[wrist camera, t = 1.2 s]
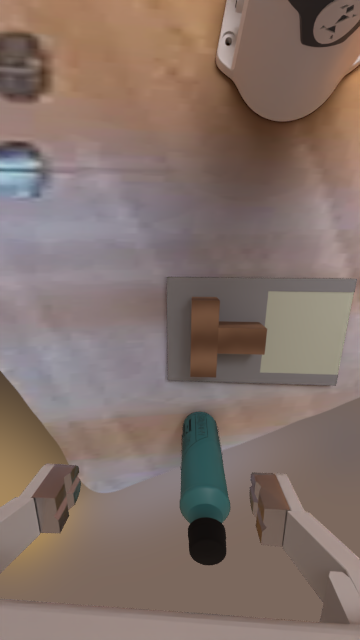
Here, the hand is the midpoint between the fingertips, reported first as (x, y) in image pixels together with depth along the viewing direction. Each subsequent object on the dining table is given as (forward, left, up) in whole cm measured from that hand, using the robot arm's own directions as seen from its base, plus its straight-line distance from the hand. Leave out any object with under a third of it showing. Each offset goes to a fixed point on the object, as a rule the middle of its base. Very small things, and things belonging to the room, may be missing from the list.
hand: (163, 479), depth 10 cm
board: (+1, +12, -28) cm, 30 cm away
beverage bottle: (+19, +3, -28) cm, 34 cm away
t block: (+1, +7, -27) cm, 27 cm away
